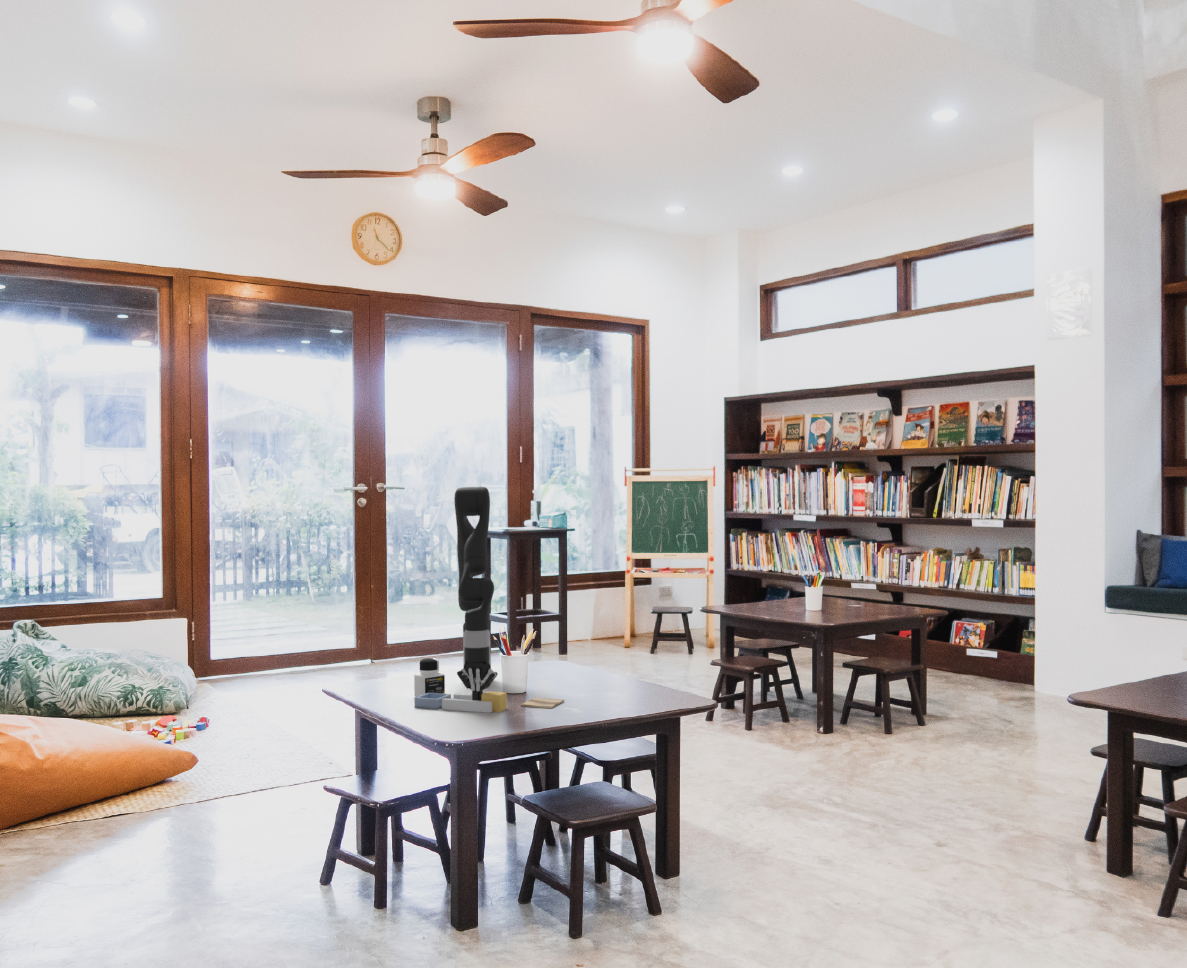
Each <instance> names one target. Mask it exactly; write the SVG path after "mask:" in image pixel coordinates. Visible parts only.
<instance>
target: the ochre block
mask: <svg viewBox="0 0 1187 968" xmlns="http://www.w3.org/2000/svg"><path fill="white" fill-rule="evenodd" d="M507 695H508V693H507V691H505V692H503V691H489V690H488V691H485V692H483V694H482V701H491V702H492V712H497V713H501V712H503V711H504V710H507V708H508V706H507V705H508V704H507V703H508V702H507V701H508V700H507Z"/></svg>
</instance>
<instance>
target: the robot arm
mask: <svg viewBox="0 0 1187 968" xmlns="http://www.w3.org/2000/svg"><path fill="white" fill-rule="evenodd" d="M453 503H454V512H455V521H456V531H457V532H456V533H457V535H456V536H457V537H456V538H457V539H456V540H457V543H456V545H457V546H456V550H457V551H456V552H457V562H458V563H457V566H458V591H457V592H458V597H457V599H458V606H459V609H460V610H461V611H463V612H465V613H464V623H463V624H462V643H463V644H462V645H463V646H462V647H463V650H462V653H463V668H462V669H460V670H457V672H456V675H457V676H458V678H459V679H460V681H461V682H462V684H463V685H464V687H465V688H466V689H468V690H470V691H471V695H472V700H476V701H482V694H483V693H484V690H486V689H488V688H489V687H490V685H492V683H493V682H494V680H495V679H496V678H497V676H498V675H499V674H498V672H497V671H494V670H493V669H492V665H491V664H492V660H491V659H492V653H491V620H490V615H491V614H490V613H491V611H490V610H491V603H492V600H493V596H494V592H495V583H494V582H493V580H492V579H491V578H489V577H476V576H480V575H483V574H485V573H486V572H487V570H488V537H489V536H488V534H489V526H490V525H489V524H490V515H491V514H490V513H491V512H490V511H491V509H490V508H491V498H490V492H489V489H488V488H487V487H485V486H464V487H463V486H462V487H458V488H456V490H455V492H454V502H453ZM468 517H479V519H478V522H477V524H476V526H475V527H474V526H473V525H472V523H471V522H470V521H469V519H468Z"/></svg>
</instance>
